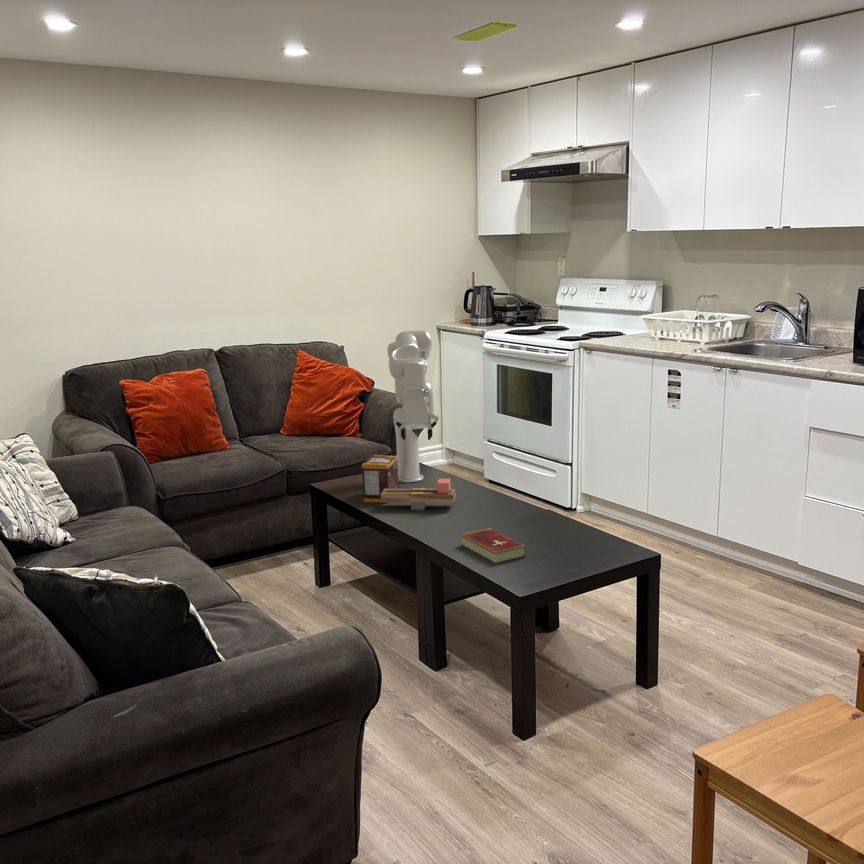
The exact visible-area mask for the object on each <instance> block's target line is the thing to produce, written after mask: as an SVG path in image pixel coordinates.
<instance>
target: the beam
mask: <svg viewBox="0 0 864 864" xmlns="http://www.w3.org/2000/svg"><path fill="white" fill-rule="evenodd" d="M456 492H457V491H456V488H451V489H450V492H449V493H437V488H426V487H420V488H419V487H413V488H402V487H401V488H384V490H383V491H382V493H381V502H389V503H407V504H408V503H410V510H411V511H412V510H413V511H415V510H417V511H425V509H426V506H427V503H428V504H429V503H430V504H432V503H433V504H441V503H443V504H451V503H452V504H453V503H455V500H456Z"/></svg>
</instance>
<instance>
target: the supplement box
mask: <svg viewBox="0 0 864 864" xmlns="http://www.w3.org/2000/svg"><path fill="white" fill-rule="evenodd" d="M361 468H362V469H361V470H362V491H363V502H364V503H378V504H379V503H382V504H389V503H390V502H381V493H382V491H383V490H384V488H399V483H400V482H398V458H397V455H381V454H380V455H377V454H376V455H375V454H373V455H372V456H371V457H370V458H368V459H367V460H366V461H365V462H364V463H362V465H361Z"/></svg>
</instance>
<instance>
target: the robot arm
mask: <svg viewBox="0 0 864 864" xmlns="http://www.w3.org/2000/svg"><path fill="white" fill-rule="evenodd" d="M432 345H433V343H432V337H431V335H430V333H429V332H428V331H427V330H406V331H405V330H404V331H401V332H399V333H398V334H397V335H396V337H395V341H394V342H390V343H389V344H388V345H387V355H388V369H389V373H390V375H391V377H392V378H393V379H394V389H395V390H394V391H395V392H394V393H395V399H396V402H397V403H398V404H401V405H402V407H398V408H396V409H395V410H394V411H393V415H392V418H393V419H392V420H393V426H394V430H395V440H396V441H395V442H396V444H395V445H396V456H397V458H398V483H416V482H419V481H422V480H423V479H424V475H423V474H421V473H420V454H419V453H420V450H419V449H420V447H419V438H418V436H417V435H416V433H415V432H414V431H413V430H419V429H420V430H421V429H427V440H428V441H430V440H431V439H432V438H433V428H434V427H435V426H436V425H437V424H438V421H439V419H440V417H439V416H438V415H436V414H435V405H434V392H433V386H432V384H431V382H429V381H427V380H426V374H427V373H428V362H427V360H428V359H429V357H430V354H431V350H432Z"/></svg>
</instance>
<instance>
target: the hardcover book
mask: <svg viewBox="0 0 864 864" xmlns="http://www.w3.org/2000/svg"><path fill="white" fill-rule="evenodd" d="M460 537H461V545H462V546H464V547H466V548H468V549H469V550H471V551H473V552H474V553H477V554H478V555H480V556H483V557H484V558H485V559H488V560H490V561H492V562H493V563H496V564H497V563H501V562H503V561H509V560H512V559H517V558H521V557H526V556H527V546H526V545H524V544H522V543H520V542H518V541H516V540H513V539H512V538H510V537H508V536H506V535H503V534H502V533H499V532H497V531H495V530H494V529H492V528H490V527H488V528H485V529H484V528H483V529H480V530H475V531H471V532H467V533H462V534H460Z"/></svg>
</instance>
